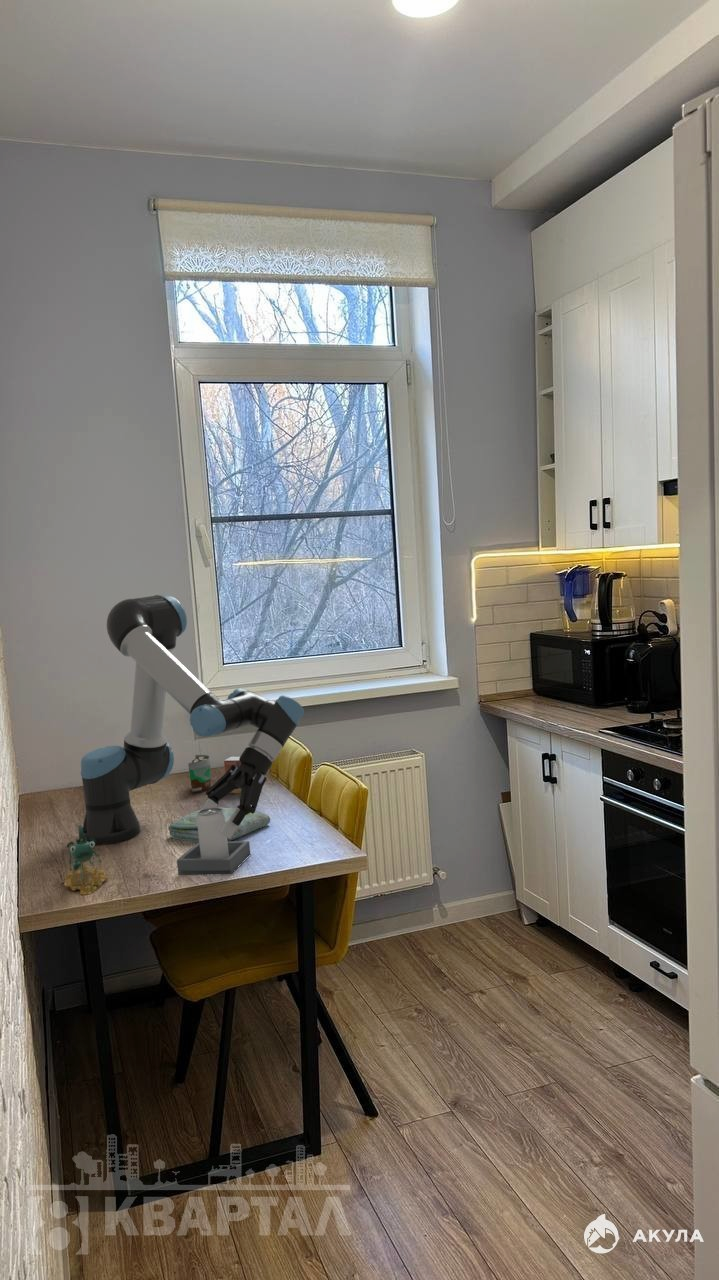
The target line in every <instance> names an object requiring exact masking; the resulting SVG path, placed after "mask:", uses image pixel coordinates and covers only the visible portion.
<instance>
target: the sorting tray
mask: <svg viewBox="0 0 719 1280" xmlns="http://www.w3.org/2000/svg"><path fill="white" fill-rule="evenodd" d="M227 843H228V853H229V857H228V858H207V859H201V853H200V844H199V842H196V843H195V844H194V845H193V846H192V847H191V848H190V849H188V850H187V851H186V852H185V853H184V854H183V855H181V856H180V857H179V858H177V859H176V865H177V875H178V876H200V875H201V876H211V875H210V874H231V875H233V873H234V872H235V871H237V869H238V868H239V867H240V866H241V865H242V864H243V863H244V862H245V861H246V860H247V859H248V858H249V857H250V856H251V848H250V841H249V840H247V841H246V840H244V841H243V840H241V841H239V840H237V841H235V840H234V841H233V840H231V841H227ZM249 855H250V856H249ZM248 856H249V857H248ZM247 857H248V858H247ZM246 858H247V859H246ZM245 859H246V860H245ZM244 860H245V861H244ZM243 861H244V862H243ZM242 862H243V863H242ZM241 863H242V864H241ZM240 864H241V865H240ZM239 865H240V866H239ZM238 866H239V867H238ZM234 870H235V871H234ZM202 874H203V875H202ZM205 874H206V875H205ZM207 874H209V875H207Z"/></svg>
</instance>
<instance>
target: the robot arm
mask: <svg viewBox="0 0 719 1280" xmlns="http://www.w3.org/2000/svg"><path fill="white" fill-rule="evenodd" d="M187 623H188V620H187V613H186V611H185V608H184V607H183V606H182V603H181V602H180V601H179V600H178V599H177V598H176V597H174V596H172V595H166V594H165V595H164V594H163V595H160V594H156V595H152V596H145V597H138V598H137V597H136V598H127V599H123V600H122V601H119V602H118V603H115V605H114V606H113V607H112V608H111V609H110V611H109V613H108V614H107V619H106V631H107V635H108V637H109V640H110V641H111V642H112V645H113V646H114V648H116V649H117V651H119V653H121V654H122V655H123V656H124V657H129V658H132V659H133V660H134V661H135V672H134V685H133V696H132V697H133V698H132V710H131V719H130V721H131V722H130V731H129V732H128V733H126V734H125V736H124V738H123V746H120V745H109V746H105V747H100V748H97V749H94V750H91V751H90V752H88V753H86V754H85V755H84V756H82V758H81V761H80V776H81V780H82V788H83V797H84V805H85V815H84V818H83V819H84V820H83V825H82V827H83V838H86V839H87V841H88V842H90V841H94V840H89V838H94V839H95V840H96V842H95V841H94V842H95V845H108V844H116V843H120V842H124V841H128V840H130V839H132V838H134V837H136V836H138V835H139V834H140V833H141V827H140V826H141V825H140V822H139V820H138V817H137V815H136V813H135V811H134V810H133V809H134V808H133V807H132V805H131V798H130V797H131V795H130V791H133V790H136V789H139V788H142V787H145V786H148V785H153V784H156V783H158V782H160V781H162V780H164V779H166V778H167V777H168V776H169V774H170V773H171V772H172V770H173V767H174V762H175V755H174V752H173V751H172V746H171V745H170V743H169V742H168V739H167V736H165V735H164V734H163V726H164V725H163V724H164V716H165V705H166V694H169V695H170V696H171V697H172V698H173V700H175V701H176V702H177V703H178V704H179V705H180V706H181V707H182V708H183V709H184V710H185V711H186V713H188V714H189V715H190V716H189V723H190V726H191V728H192V730H193V732H194V734H196V735H198V736H199V737H203V738H208V737H212V736H218V735H220V734H222V733H225V732H228V731H232V730H235V729H238V728H241V727H244V726H245V727H246V726H249V725H250V726H253V727H255V728H257V730H256V732H255V733H254V735H253V736H252V738H251V740H250V741H249V743H248V744H247V745H248V747H245V749H244V750H243V752H242V753H241V755H240V756H239V757H240V758H239V760H240V762H241V765H240V767H239V768H237V767H236V766H234V765H232V766H231V767H230V768H229V770H228V771H227V772H226V773H225V772H224V774H223V775H222V776H221V777H220V778H219V779H218V780H217V781H216V782H215V783H214V784H213V785H211V788H210V789H209V790H208V791H205V795H206V796H207V800H206V802H205V803H204V805H203V806H202V807H201V809H200V810H204V809H208V808H216V807H217V806H218V805H219V802H220V801H221V800H222V799H223V798H225V797H227V796H228V795H229V794H231V793H230V792H231V791H233V790H234V789H238V788H240V789H241V788H242V789H241V793H240V796H239V798H240V799H239V804H238V805H237V806H236V808H234V809H235V810H234V812H233V814H232V815H231V817H230V818H229V820H228V821H227V823H226V825H225V826H224V828H223V829H222V831H221V832H220V833H222V834H223V835H224V836H226V837H227V838H229V839H231V837H232V835H233V834H234V832H235V831H236V829H237V828H238V826H239V825H240V823H241V822H242V820H243V819H244V817H245V816H246V815H247V814H249V813H252V814H253V813H254V812H255V811H257V810H256V809H257V806H258V803H259V801H260V798H261V793H262V790H263V786H264V785H265V783H266V781H267V779H268V778H267V777H266V775H267V773H268V772H269V770H270V769H271V767H272V766H273V762H274V761H276V758H278V756H279V755H280V752H281V751H282V749H283V748H284V746H285V744H286V743H287V741H288V740H289V738H290V737H291V735H292V734H293V733H294V731H295V730H296V728H297V727H298V726H299V723H300V721H301V719H302V718H303V717H304V714H305V710H304V708H303V706H302V705H301V704H300V703H299V702H298V701H297V700H295V699H293V698H292V697H290V696H287V695H280V696H279V697H278V698H277V699H276V700H274V701H273V700H271V699H268V698H266V697H264V696H262V695H259V694H257V693H255V692H253V691H250V690H248V689H247V690H246V689H245V688H244V689H243V688H236V689H234V690H233V692H231V693H230V694H229V695H228V697H227V698H226V699H222V700H221V699H220V698H218V697H217V696H216V695H215V693H213V692H212V690H210V689H209V688H208V687H207V686H206V685H205V684H204V683H203V682H202V681H201V680H200V679H198V678H197V677H196V676H195V675H194V674H193V673H192V672H191V671H190V669H188V668H187V667H186V666H185V665H184V664H183V663H182V662H181V661H180V660H179V659H178V658H177V657H176V656H175V655H173V654H172V653H171V652H172V651H173V650H174V649H176V645H177V637H179V636H181V635H183V633H185V631H186V628H187ZM166 692H167V693H166ZM217 808H218V807H217ZM239 809H240V810H239ZM197 818H198V815H197V817H196V818H195V820H194V822H195V823H196V824H197Z"/></svg>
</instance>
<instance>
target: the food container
mask: <svg viewBox="0 0 719 1280" xmlns="http://www.w3.org/2000/svg"><path fill="white" fill-rule="evenodd" d="M194 757H195V758H194V759H192V761H191V762H188V764H187V765H188V771H189V777H190V778H189V779H190V786H191V793H192V794H201V793H206V792H207V791H208V790H209V789H210V788H211V787H212V779H211V778H212V777H211V775H212V774H211V772H212V771H211V765H212V764H213V761H212V758H211V757H210V755H207V754H195V756H194Z"/></svg>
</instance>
